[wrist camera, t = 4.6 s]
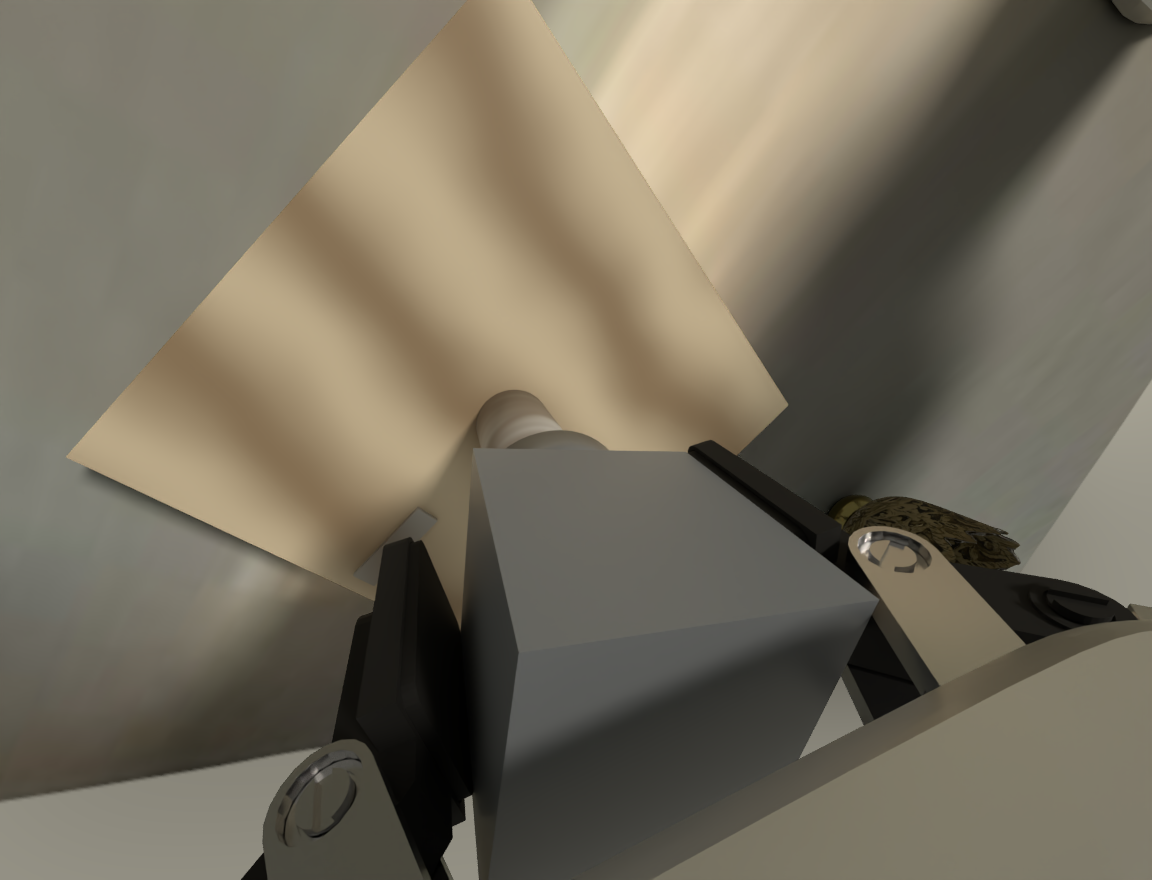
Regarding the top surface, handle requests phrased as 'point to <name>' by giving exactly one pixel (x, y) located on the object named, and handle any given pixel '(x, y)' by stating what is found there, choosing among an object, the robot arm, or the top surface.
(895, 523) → the cup
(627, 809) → the cap
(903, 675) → the robot arm
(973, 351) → the top surface
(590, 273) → the block
